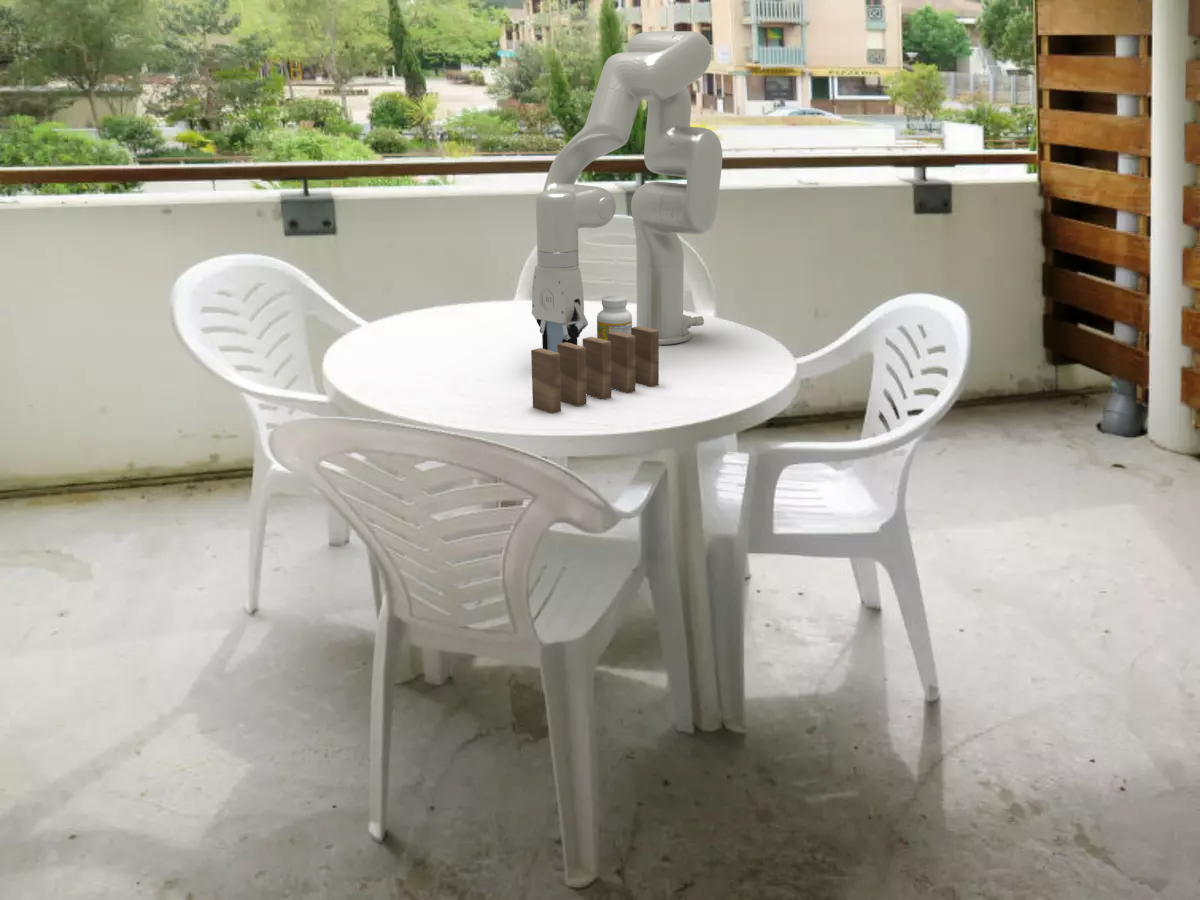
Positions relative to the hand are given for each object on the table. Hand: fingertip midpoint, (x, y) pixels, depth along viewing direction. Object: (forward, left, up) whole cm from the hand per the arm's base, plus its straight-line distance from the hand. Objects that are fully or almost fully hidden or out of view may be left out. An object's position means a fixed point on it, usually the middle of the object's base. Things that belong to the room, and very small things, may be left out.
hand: (560, 355), depth 242 cm
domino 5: (-4, +17, -3) cm, 18 cm away
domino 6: (-9, +15, -3) cm, 18 cm away
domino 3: (+7, +20, -3) cm, 22 cm away
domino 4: (+2, +18, -3) cm, 19 cm away
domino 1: (+13, +21, -3) cm, 25 cm away
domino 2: (0, 0, -3) cm, 3 cm away
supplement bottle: (-11, +1, -3) cm, 11 cm away
